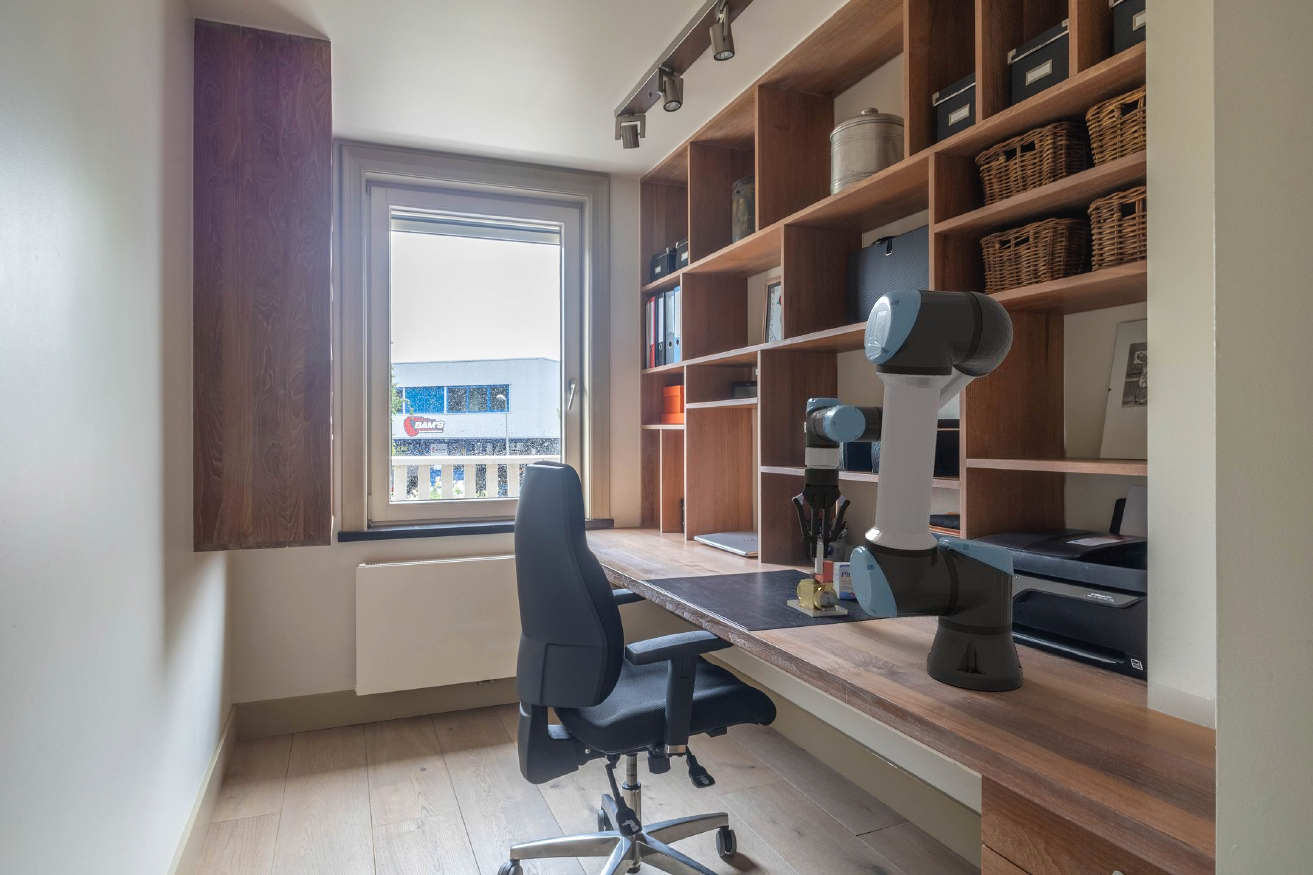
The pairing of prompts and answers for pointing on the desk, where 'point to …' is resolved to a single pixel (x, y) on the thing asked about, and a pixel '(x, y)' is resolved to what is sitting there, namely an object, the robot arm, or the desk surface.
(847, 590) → the medicine box
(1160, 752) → the desk surface
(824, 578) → the lever
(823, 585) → the valve fixture
